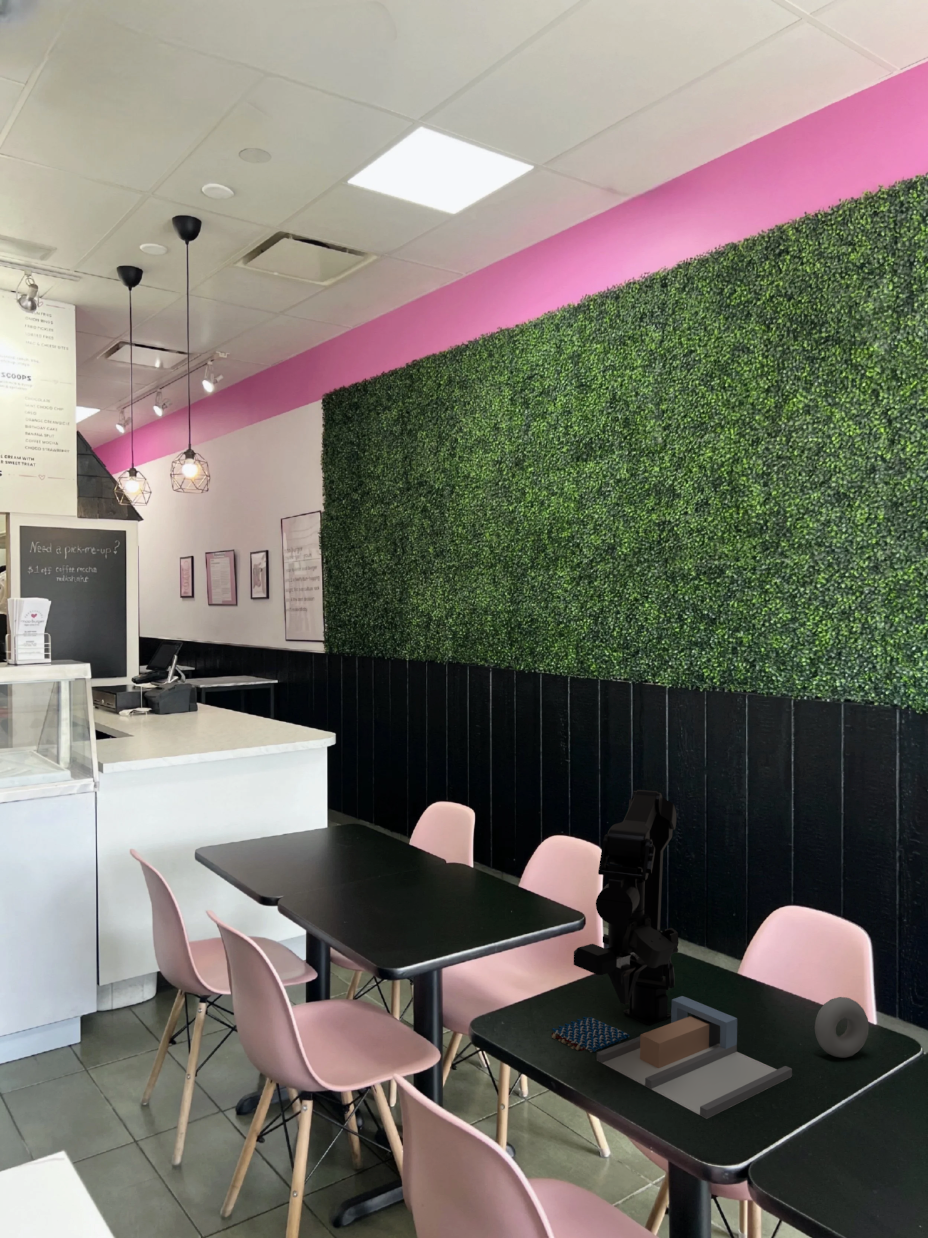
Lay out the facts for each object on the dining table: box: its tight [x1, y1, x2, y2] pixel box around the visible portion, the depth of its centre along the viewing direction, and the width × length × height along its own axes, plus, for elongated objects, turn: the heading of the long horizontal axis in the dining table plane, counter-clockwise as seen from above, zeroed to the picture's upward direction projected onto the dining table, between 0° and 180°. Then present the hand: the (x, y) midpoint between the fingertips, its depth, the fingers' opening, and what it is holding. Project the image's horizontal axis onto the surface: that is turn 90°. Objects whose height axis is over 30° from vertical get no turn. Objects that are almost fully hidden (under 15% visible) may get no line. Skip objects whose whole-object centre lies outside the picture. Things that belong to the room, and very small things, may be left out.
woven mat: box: [551, 1016, 630, 1053], centre depth 157 cm, size 10×11×2 cm
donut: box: [814, 996, 870, 1059], centre depth 153 cm, size 10×3×10 cm, turn 105°
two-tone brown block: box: [639, 1014, 720, 1068], centre depth 152 cm, size 4×16×4 cm, turn 128°
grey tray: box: [596, 995, 793, 1120], centre depth 146 cm, size 22×22×6 cm
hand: (624, 1003), depth 146 cm, fingers closed
